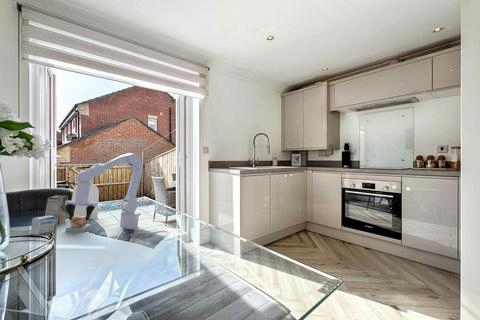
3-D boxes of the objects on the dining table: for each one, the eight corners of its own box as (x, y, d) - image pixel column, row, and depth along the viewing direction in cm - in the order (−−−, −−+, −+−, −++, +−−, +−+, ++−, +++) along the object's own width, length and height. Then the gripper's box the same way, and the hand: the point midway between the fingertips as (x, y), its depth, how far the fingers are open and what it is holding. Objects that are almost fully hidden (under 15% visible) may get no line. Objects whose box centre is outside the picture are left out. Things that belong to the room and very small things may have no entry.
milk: (97, 218, 149) (102, 178, 149) (77, 220, 139) (82, 178, 140) (88, 214, 155) (92, 176, 156) (68, 216, 146) (73, 175, 146)
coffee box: (52, 223, 130) (56, 194, 131) (65, 223, 132) (68, 195, 132) (43, 227, 122) (46, 197, 122) (57, 228, 123) (60, 198, 123)
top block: (90, 228, 125) (90, 224, 125) (82, 232, 117) (82, 228, 117) (74, 227, 124) (75, 223, 124) (65, 231, 116) (65, 227, 116)
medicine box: (37, 237, 108) (39, 219, 108) (29, 236, 109) (32, 217, 109) (54, 233, 116) (56, 216, 116) (46, 231, 117) (48, 214, 117)
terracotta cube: (85, 225, 123) (87, 215, 124) (81, 227, 119) (82, 217, 119) (75, 224, 123) (76, 215, 123) (70, 227, 118) (71, 217, 118)
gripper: (62, 193, 116) (59, 220, 116) (93, 195, 118) (90, 222, 118) (70, 191, 123) (67, 217, 122) (99, 193, 125) (97, 218, 125)
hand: (79, 219), depth 121 cm, fingers open, 7 cm apart
